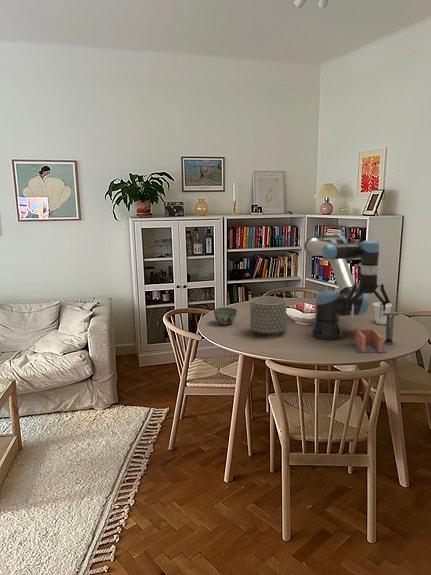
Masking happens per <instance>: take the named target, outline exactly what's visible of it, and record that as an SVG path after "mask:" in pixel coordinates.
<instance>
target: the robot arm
mask: <svg viewBox="0 0 431 575" xmlns="http://www.w3.org/2000/svg"><path fill="white" fill-rule="evenodd" d="M303 249H304V251H305V252H306V254H308V255H309V256H314V257H315V256H317V257H318V256H320V257H321V256H322V258H323V259H324V260H327V261H328V262H329V263H330V268H331V269H332V272H333V274H334V278H335V281H336V283H337V287H338V290H335V289H334V290H332V289H331V290H328V289H327V290H322V291H320V292H318V293H317V294H316V297H315V298H316V299H315V319H314V320H315V321H314V324H313V326H312V328H311V336H312V337H313V338H315V339H319V340H324V341H336V340H339V339H341V338H342V335H343V334H342V333H343V332H342V329H341V324H340V322H339V321H340V320H339V318H340V317H345V316H346V317H347V316H350V318H351V319H354V316H363V315H366V313H367V311H368V309H369V305H370V297H369V294H371V295H372V294H374V295H375V296H376V298H377V299H378V300H379V301H380V302H382V304H380V312H379V317H380V318H383V311H385V305H386V304H388V303H389V304H391V302H390V299H389V297H388V295H387V292H386V291H385V285H384V284H383V283H378V271H379V270H378V269H379V268H378V267H379V255H380V243H379V241H378V240H363V241H362V242H361V241H357V242H350V243H349V242H347V239H346V238H345V236H343V235H341V234H331V235H329V234H328V235H327V234H326V235H325V234H324V235H313V236H309V238H307V239H306V240H305V242H304V245H303ZM352 259H353V260H355V259H358V260H359V259H360V274H359V275H360V276H359V277H360V278H359V284H356V283H355V280H354V278H353V277H354V276H353V275H352V271H351V270H350V267H349V264H348V262H347V260H352ZM377 288H378V289H379V290H380V292H381V294H382V296H383V298H382V297H381V295H380V294H379V293H378V291H377Z"/></svg>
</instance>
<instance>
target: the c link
mask: <svg viewBox="0 0 431 575" xmlns="http://www.w3.org/2000/svg"><path fill="white" fill-rule="evenodd" d="M383 340H384V337H383V336H382V335H381V334H380V333H379V331H377V330H376V329H375V328H355V330H354V342H355V343H356V345H357V346H358V347H359V349H360V350H361V351H362V352H365V345H366V344H372V345H373V346H374V347H375V348H376V349H377V351H378V352H382V348H383V343H384V341H383Z"/></svg>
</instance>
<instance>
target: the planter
mask: <svg viewBox="0 0 431 575" xmlns="http://www.w3.org/2000/svg"><path fill="white" fill-rule="evenodd" d="M249 302H250V304H249V307H250V308H249V312H250V314H249V316H250V317H249V319H250V325H249V327H250V329H251V331H254V332H256V333H258V334H260V335H263V336H274V335H277V334H279V333H283V332H284V331H286V329H287V308H288V307H287V299H285V298H284V297H281V296H279V297H278V296H271V295H270V296H257V297H256V296H255V297H253V298H250V300H249Z"/></svg>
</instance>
